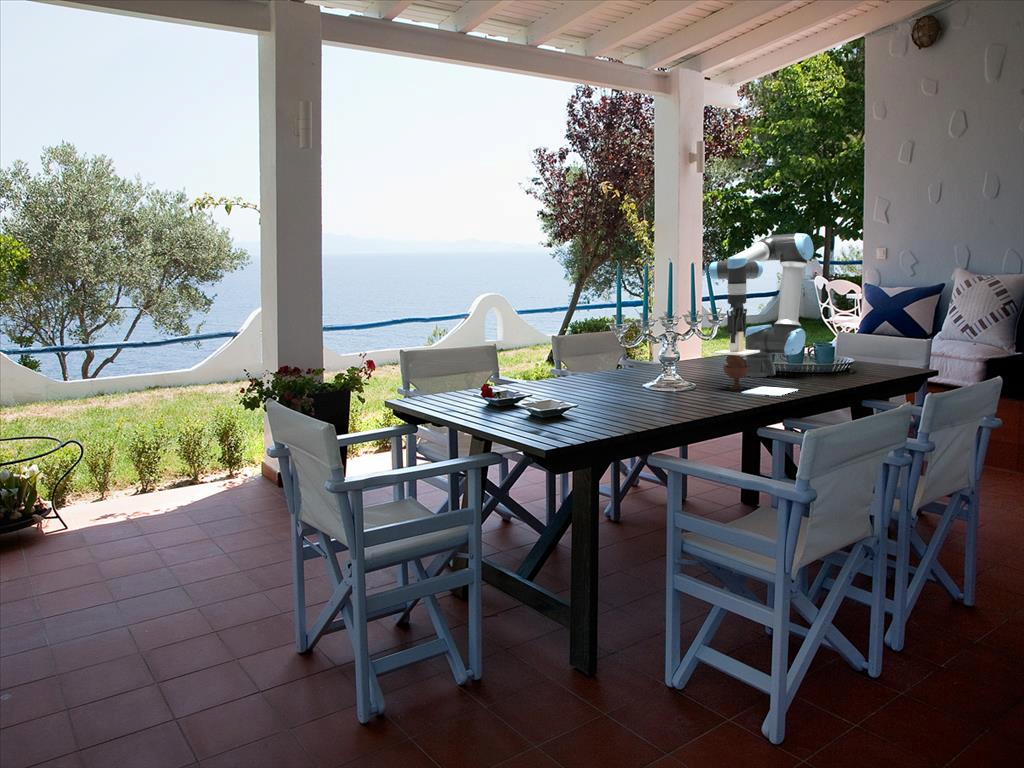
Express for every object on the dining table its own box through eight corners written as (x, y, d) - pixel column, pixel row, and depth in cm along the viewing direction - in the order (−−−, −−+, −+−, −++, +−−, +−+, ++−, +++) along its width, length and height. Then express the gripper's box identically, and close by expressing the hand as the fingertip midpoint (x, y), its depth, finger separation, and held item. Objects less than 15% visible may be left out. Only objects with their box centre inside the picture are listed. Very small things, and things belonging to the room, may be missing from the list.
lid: (729, 350, 363) (729, 330, 362) (760, 352, 354) (760, 331, 353) (713, 353, 353) (713, 332, 352) (744, 355, 344) (744, 334, 343)
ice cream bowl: (744, 391, 348) (744, 354, 346) (718, 389, 355) (718, 353, 353) (754, 387, 357) (754, 352, 354) (728, 386, 363) (729, 351, 361)
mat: (761, 387, 355) (761, 386, 355) (798, 390, 345) (798, 389, 345) (741, 393, 342) (741, 392, 342) (779, 396, 332) (779, 395, 331)
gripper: (738, 293, 359) (738, 348, 362) (718, 295, 346) (718, 352, 350) (755, 293, 354) (754, 348, 357) (735, 295, 341) (735, 352, 345)
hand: (736, 350), depth 353 cm, fingers closed on lid, 4 cm apart
